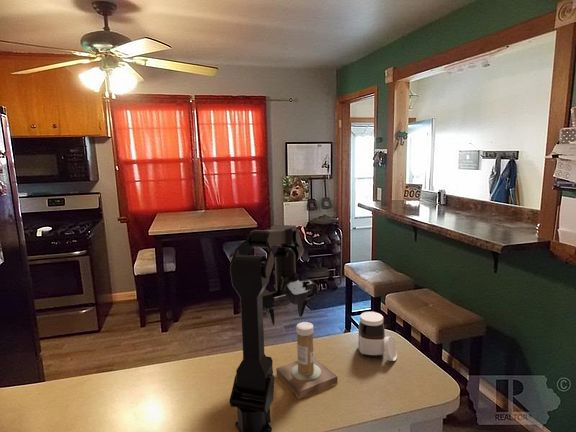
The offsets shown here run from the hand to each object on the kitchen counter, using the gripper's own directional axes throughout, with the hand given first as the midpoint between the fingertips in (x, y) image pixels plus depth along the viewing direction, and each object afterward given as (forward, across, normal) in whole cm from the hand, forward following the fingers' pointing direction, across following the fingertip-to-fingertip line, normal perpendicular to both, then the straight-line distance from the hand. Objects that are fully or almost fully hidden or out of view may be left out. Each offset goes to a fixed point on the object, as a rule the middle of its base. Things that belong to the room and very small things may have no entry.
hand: (286, 320), depth 108 cm
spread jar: (+13, +25, -11) cm, 30 cm away
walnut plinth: (+13, 0, -10) cm, 16 cm away
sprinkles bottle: (+11, 0, -10) cm, 15 cm away
